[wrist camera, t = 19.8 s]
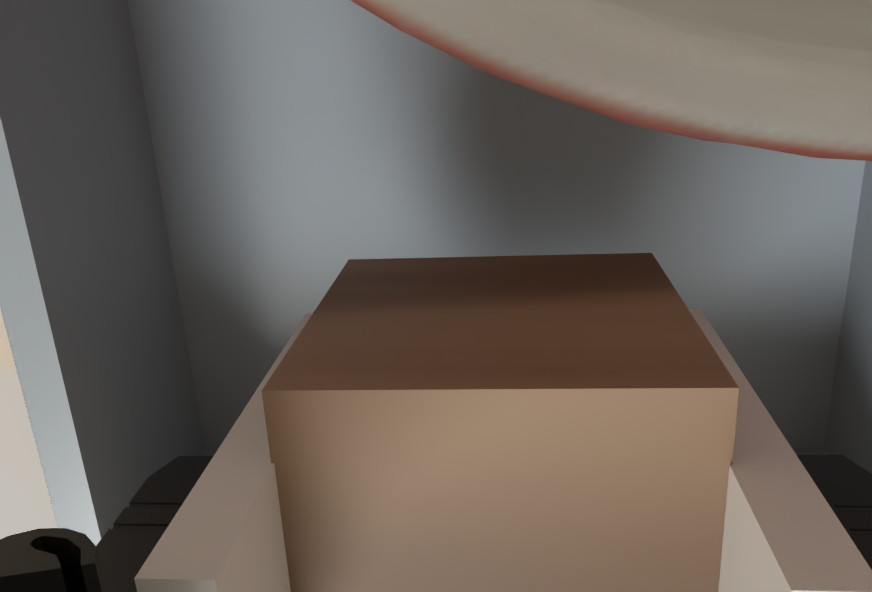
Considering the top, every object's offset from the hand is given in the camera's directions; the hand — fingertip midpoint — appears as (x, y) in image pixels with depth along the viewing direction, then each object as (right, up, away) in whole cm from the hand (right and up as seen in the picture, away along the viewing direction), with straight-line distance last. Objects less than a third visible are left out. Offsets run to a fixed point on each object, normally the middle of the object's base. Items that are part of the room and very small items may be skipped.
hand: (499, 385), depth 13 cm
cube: (0, 0, 0) cm, 1 cm away
